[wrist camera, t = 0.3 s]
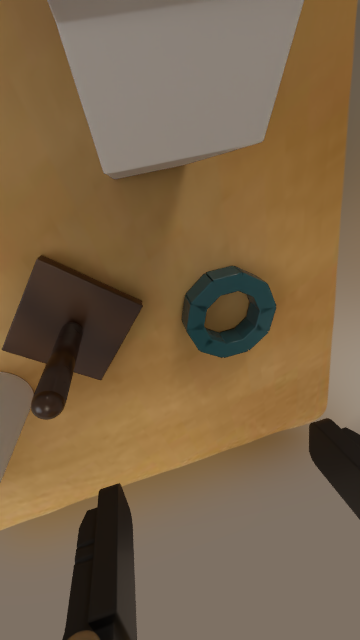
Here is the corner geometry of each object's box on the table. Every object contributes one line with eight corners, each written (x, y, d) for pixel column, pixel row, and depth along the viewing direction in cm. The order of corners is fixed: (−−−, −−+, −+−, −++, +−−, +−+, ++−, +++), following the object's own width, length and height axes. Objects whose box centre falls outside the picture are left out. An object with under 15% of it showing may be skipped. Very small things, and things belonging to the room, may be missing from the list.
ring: (212, 249, 29) (221, 255, 26) (281, 290, 33) (293, 299, 31) (165, 326, 32) (168, 338, 30) (232, 356, 36) (240, 368, 34)
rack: (41, 254, 26) (-28, 316, 14) (142, 300, 30) (156, 378, 18) (6, 342, 29) (-73, 453, 17) (101, 373, 33) (91, 478, 21)
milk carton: (188, 164, 25) (324, 125, 8) (113, 179, 24) (97, 171, 8) (173, 63, 21) (357, -354, 5) (85, 78, 21) (-54, -339, 4)
